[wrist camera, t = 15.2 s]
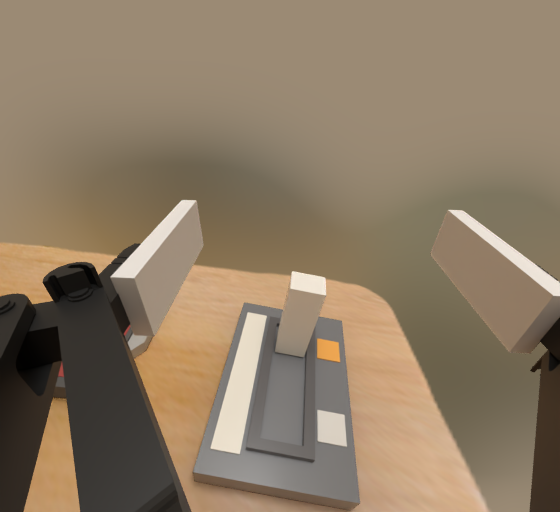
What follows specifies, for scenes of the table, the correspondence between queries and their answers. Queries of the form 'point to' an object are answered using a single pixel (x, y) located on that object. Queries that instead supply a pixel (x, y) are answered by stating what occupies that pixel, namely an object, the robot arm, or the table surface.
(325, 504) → the switch box
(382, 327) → the table surface
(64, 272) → the robot arm
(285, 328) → the lever
